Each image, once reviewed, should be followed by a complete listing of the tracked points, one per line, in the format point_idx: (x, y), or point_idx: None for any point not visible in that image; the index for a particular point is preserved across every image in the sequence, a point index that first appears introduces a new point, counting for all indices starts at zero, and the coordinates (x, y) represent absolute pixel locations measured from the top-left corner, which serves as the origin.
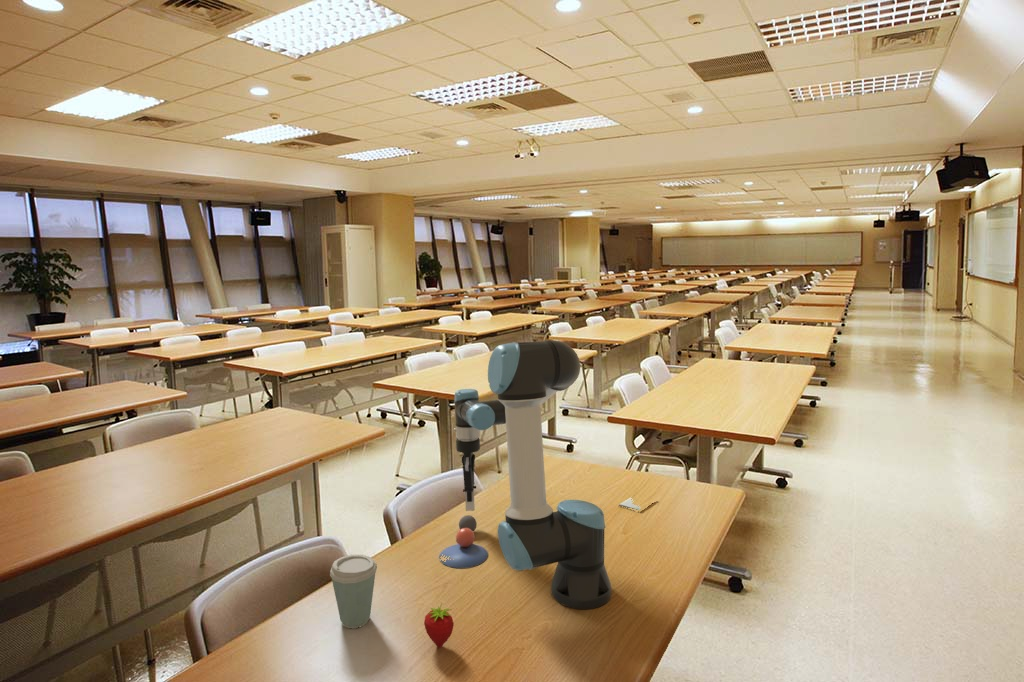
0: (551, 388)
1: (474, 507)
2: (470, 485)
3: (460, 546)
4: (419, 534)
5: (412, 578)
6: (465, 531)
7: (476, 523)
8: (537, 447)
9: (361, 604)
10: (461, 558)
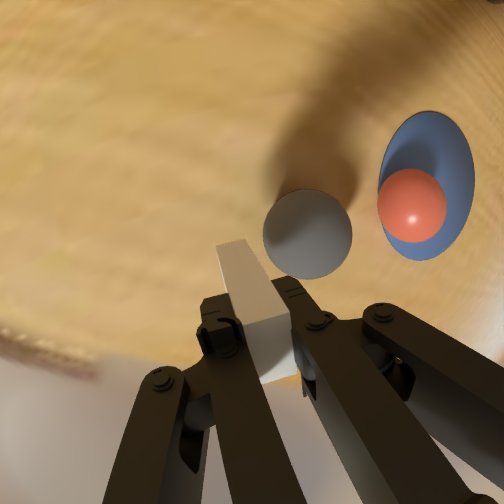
0: None
1: (225, 248)
2: (445, 347)
3: None
4: None
5: (484, 270)
6: (446, 208)
7: (303, 192)
8: None
9: None
10: (448, 189)
